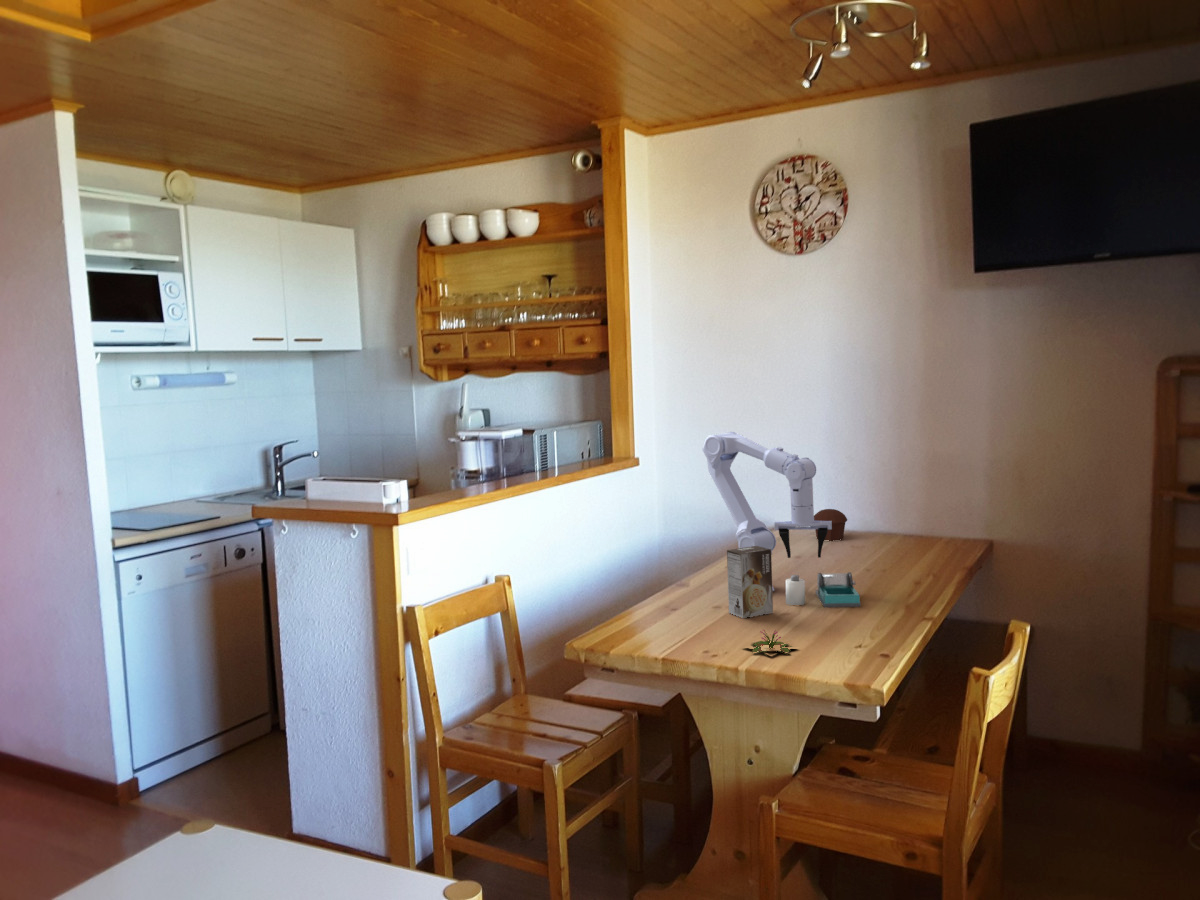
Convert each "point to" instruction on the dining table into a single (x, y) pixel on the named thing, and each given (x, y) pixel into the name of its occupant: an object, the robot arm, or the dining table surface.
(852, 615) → the dining table surface
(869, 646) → the dining table surface
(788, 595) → the white capped bottle
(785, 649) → the lily flower
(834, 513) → the muffin
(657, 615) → the dining table surface
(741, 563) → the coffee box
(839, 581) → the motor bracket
